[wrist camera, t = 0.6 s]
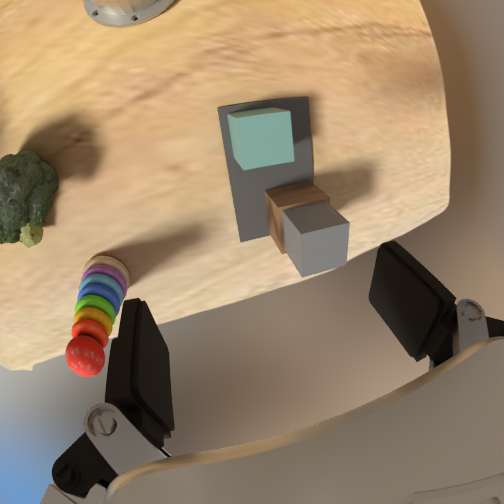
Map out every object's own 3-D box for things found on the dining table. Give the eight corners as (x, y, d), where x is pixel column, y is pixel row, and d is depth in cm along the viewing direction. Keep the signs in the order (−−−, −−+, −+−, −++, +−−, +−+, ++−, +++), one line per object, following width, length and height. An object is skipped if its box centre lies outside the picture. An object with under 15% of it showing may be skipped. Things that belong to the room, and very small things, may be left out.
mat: (217, 107, 31) (217, 107, 30) (306, 97, 32) (307, 97, 32) (240, 240, 42) (240, 242, 42) (313, 223, 44) (314, 224, 43)
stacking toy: (119, 247, 38) (96, 349, 23) (137, 287, 42) (130, 388, 27) (76, 259, 37) (41, 356, 22) (97, 297, 41) (79, 392, 26)
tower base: (264, 190, 38) (278, 207, 33) (310, 181, 39) (329, 197, 34) (269, 232, 42) (281, 254, 37) (311, 222, 43) (328, 242, 38)
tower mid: (282, 210, 34) (300, 234, 29) (325, 201, 34) (349, 222, 30) (285, 250, 37) (301, 277, 32) (325, 240, 38) (346, 264, 33)
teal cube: (227, 113, 31) (236, 118, 26) (273, 107, 32) (290, 111, 27) (233, 157, 35) (243, 170, 30) (277, 150, 35) (294, 161, 31)
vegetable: (-8, 237, 28) (-44, 169, 16) (48, 191, 36) (31, 117, 24) (22, 290, 27) (-27, 224, 15) (84, 234, 35) (67, 154, 23)
